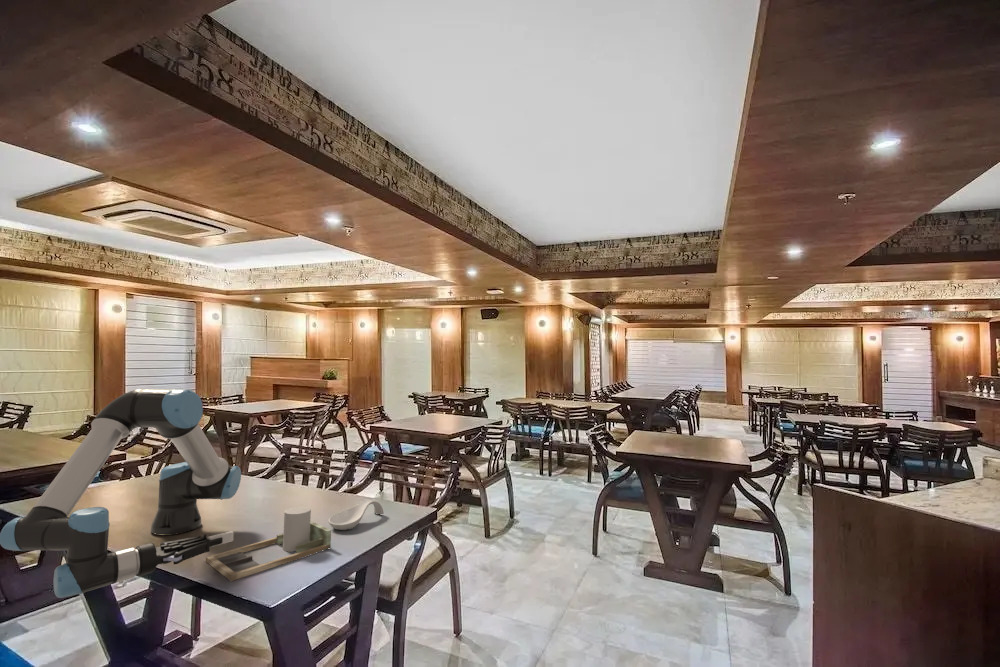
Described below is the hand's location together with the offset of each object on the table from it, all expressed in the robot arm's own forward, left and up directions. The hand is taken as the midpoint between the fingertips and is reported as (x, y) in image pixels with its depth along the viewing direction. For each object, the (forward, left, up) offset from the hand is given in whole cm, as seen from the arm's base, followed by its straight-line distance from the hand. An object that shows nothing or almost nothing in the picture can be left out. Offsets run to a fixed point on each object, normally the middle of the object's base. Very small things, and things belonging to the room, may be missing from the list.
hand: (232, 535), depth 141 cm
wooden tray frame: (0, +12, -9) cm, 15 cm away
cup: (0, +20, -9) cm, 22 cm away
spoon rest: (-6, +47, -10) cm, 48 cm away
